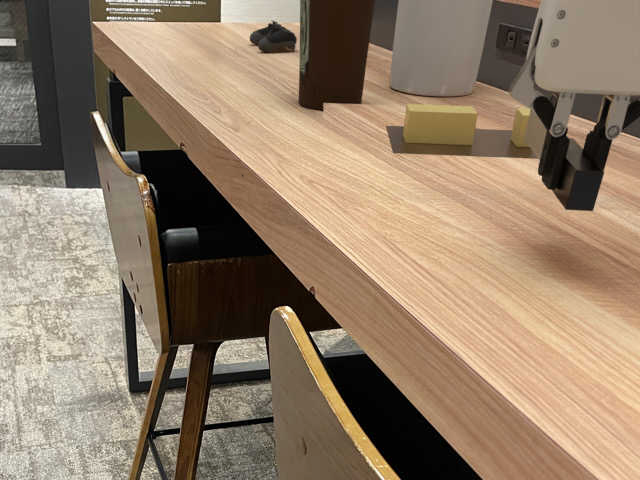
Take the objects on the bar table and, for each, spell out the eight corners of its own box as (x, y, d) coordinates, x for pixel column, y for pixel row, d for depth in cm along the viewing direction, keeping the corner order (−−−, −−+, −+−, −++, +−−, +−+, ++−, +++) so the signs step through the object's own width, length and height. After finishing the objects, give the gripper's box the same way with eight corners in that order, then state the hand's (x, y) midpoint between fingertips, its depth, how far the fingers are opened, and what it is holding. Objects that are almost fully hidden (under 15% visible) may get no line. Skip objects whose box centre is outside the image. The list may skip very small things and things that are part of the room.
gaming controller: (247, 41, 168) (253, 13, 165) (282, 51, 170) (288, 24, 167) (258, 51, 159) (264, 21, 156) (294, 61, 161) (301, 32, 158)
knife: (593, 211, 65) (604, 171, 63) (565, 210, 65) (575, 170, 63) (536, 139, 82) (544, 106, 80) (514, 138, 82) (521, 105, 80)
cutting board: (524, 143, 106) (526, 130, 105) (547, 172, 95) (550, 158, 94) (384, 137, 107) (385, 125, 106) (391, 166, 96) (393, 152, 95)
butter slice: (526, 139, 101) (533, 108, 99) (533, 147, 98) (540, 115, 96) (510, 139, 101) (516, 107, 99) (516, 147, 98) (523, 115, 96)
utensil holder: (487, 85, 137) (510, -43, 126) (467, 101, 126) (491, -37, 115) (401, 77, 141) (417, -47, 130) (375, 92, 131) (390, -42, 120)
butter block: (467, 137, 101) (473, 106, 99) (472, 145, 98) (478, 113, 96) (402, 135, 102) (406, 103, 100) (405, 142, 99) (409, 110, 97)
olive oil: (364, 98, 127) (384, -107, 111) (366, 113, 118) (388, -107, 103) (295, 95, 127) (306, -109, 112) (292, 110, 119) (304, -108, 103)
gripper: (733, -87, 60) (649, 178, 71) (512, -94, 61) (463, 169, 72) (778, -85, 54) (678, 204, 65) (532, -93, 55) (476, 194, 66)
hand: (566, 184), depth 69 cm, fingers closed on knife, 2 cm apart
